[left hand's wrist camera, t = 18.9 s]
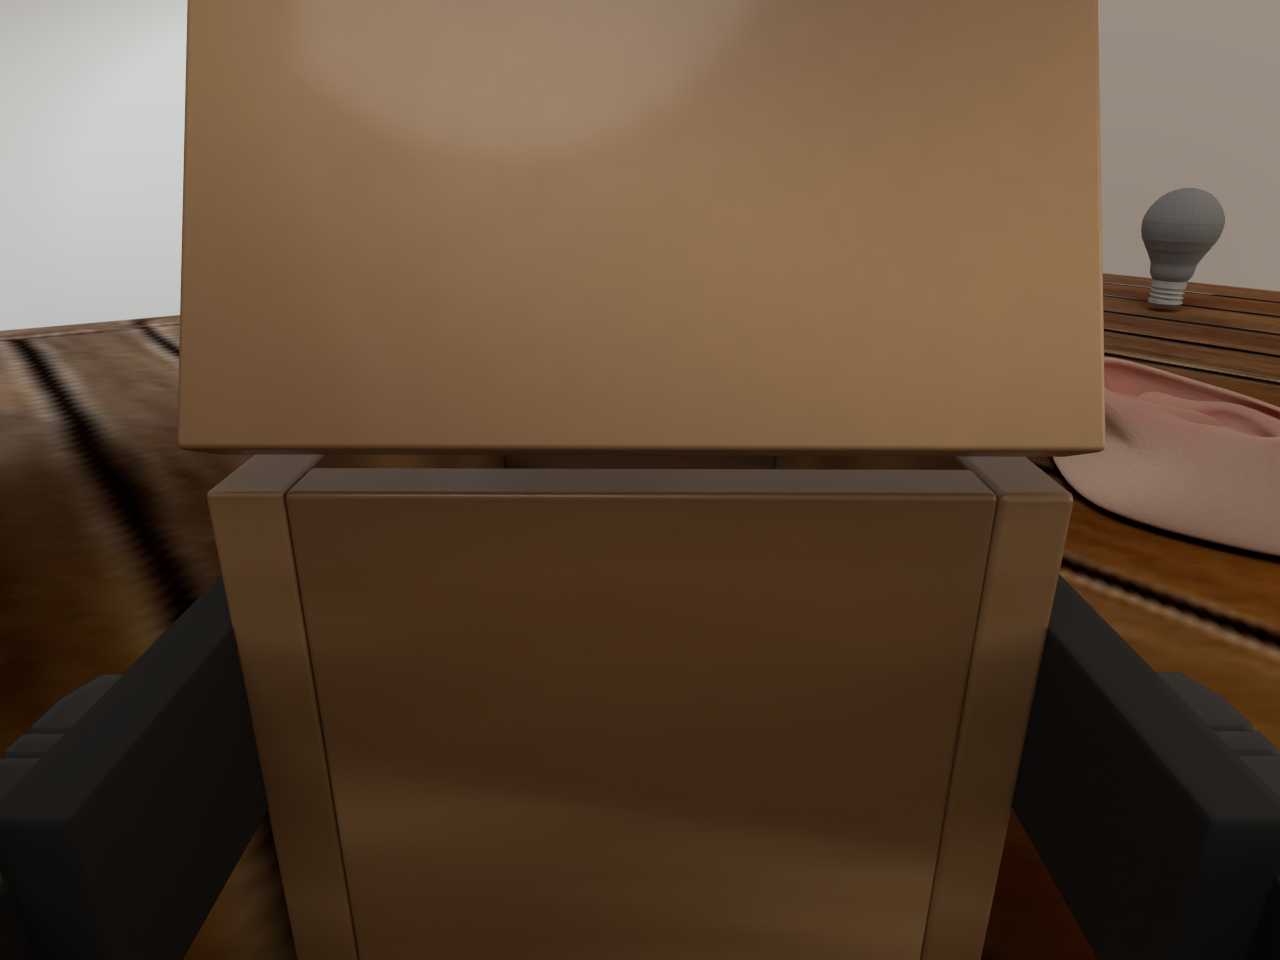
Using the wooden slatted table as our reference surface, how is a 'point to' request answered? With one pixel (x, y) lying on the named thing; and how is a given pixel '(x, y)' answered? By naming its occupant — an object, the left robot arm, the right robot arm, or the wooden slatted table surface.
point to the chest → (639, 698)
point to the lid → (642, 228)
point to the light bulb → (1179, 240)
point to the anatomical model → (1185, 458)
